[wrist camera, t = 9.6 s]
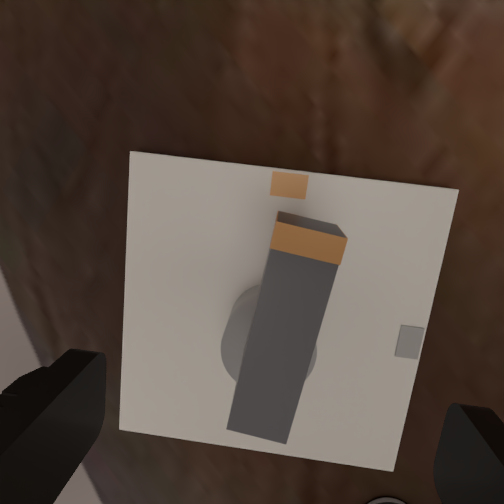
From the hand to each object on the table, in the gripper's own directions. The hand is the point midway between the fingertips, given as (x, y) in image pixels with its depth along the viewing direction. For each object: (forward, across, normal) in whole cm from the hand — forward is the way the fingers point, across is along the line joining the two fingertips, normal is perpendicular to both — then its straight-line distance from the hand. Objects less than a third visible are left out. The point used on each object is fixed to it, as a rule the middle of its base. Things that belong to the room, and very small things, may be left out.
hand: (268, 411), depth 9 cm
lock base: (+21, 0, +6) cm, 21 cm away
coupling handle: (+14, -1, +2) cm, 14 cm away
